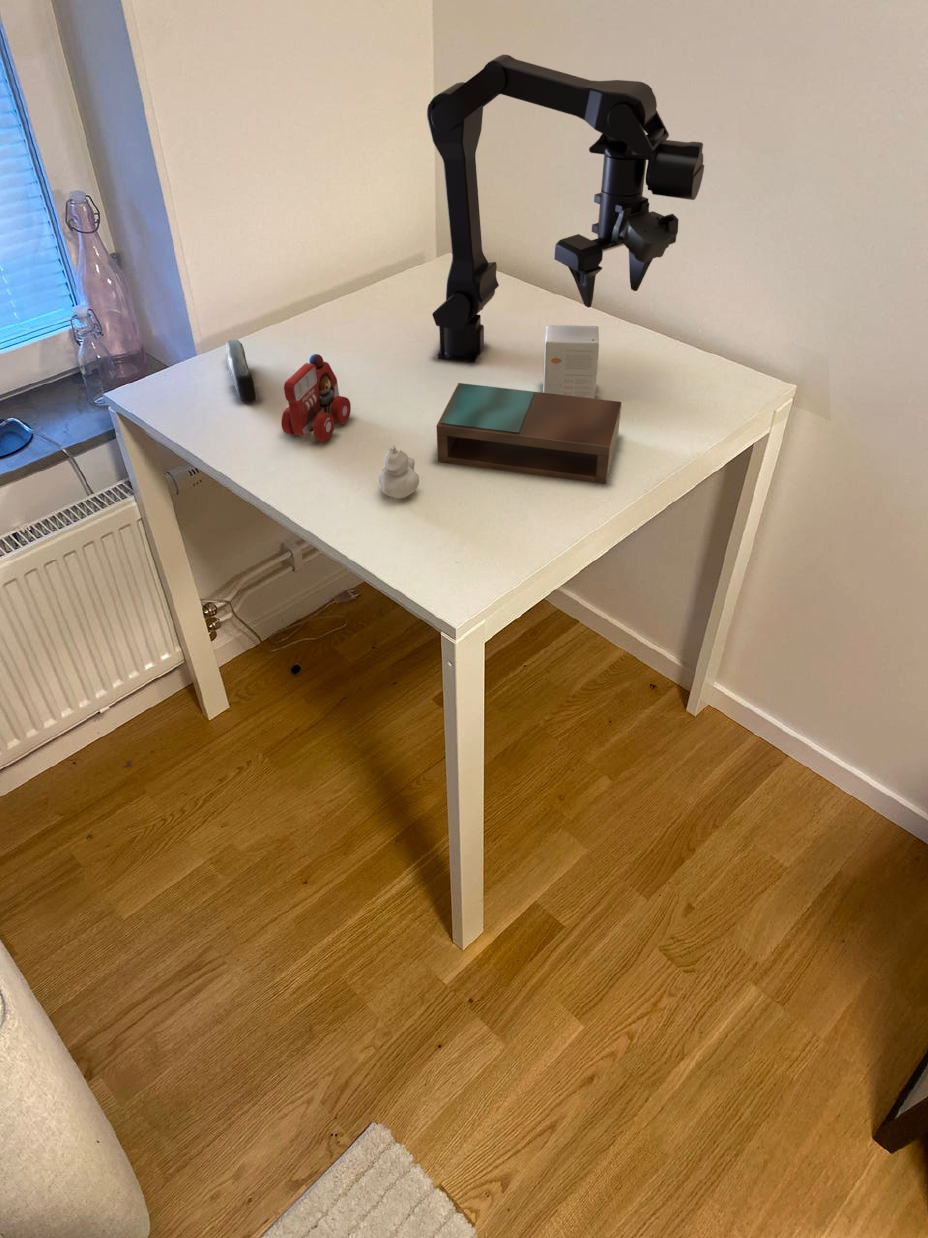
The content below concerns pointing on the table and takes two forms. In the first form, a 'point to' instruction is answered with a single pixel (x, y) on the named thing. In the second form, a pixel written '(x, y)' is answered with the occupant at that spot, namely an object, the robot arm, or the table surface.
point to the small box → (571, 360)
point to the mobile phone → (240, 371)
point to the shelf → (529, 432)
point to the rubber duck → (398, 474)
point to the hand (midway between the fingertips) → (611, 298)
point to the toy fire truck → (314, 401)
